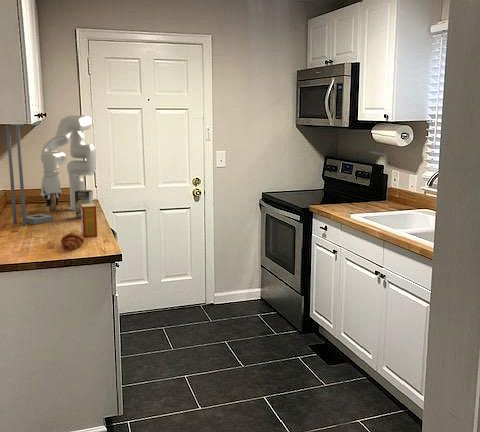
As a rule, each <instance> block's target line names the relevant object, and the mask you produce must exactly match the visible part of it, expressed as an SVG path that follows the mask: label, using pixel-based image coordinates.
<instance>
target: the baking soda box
mask: <svg viewBox="0 0 480 432" xmlns="http://www.w3.org/2000/svg"><path fill="white" fill-rule="evenodd" d="M80 207H81V218H80V221H81V224H80V225H81V235H82V238H83V239H84V238H86V239H87V238H97V237H98V227H97V226H98V223H97V206H96V204H95V203H94V202H93V203H90V204H80Z"/></svg>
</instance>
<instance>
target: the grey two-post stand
mask: <svg viewBox="0 0 480 432" xmlns="http://www.w3.org/2000/svg"><path fill="white" fill-rule="evenodd" d="M36 121H37V122H36V123H34V124H31V125H30V126H36V125H37V126H39V125H41V120H36ZM5 126H6V127H5V129H6V139H7V153H8V155H7V157H8V165H9V168H8V169H9V179H10V181H9V183H10V195H11V196H10V197H11V208H12V220H13V224H14V223H17V224H18V220H17V219H18V217H17V206H16V205H17V204H16V193H15V190H16V189H15V179H14V178H15V177H14V166H13V165H14V164H13V151H12V150H13V149H12V139H11V138H12V137H11V126H15V134H16V145H17V146H16V147H17V159H18V162H17V164H18V176H19V177H18V178H19V188H20V189H19V191H20V205H21V218H22V219H21V220H22V226H23V227H26V226H27V223H26V216H27V214H26V201H25V199H26V198H25V184H24V172H23V170H24V169H23V157H22V145H21V144H22V143H21V131H20V126H25V125H24V124H10V125H5Z"/></svg>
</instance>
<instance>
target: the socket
mask: <svg viewBox="0 0 480 432" xmlns="http://www.w3.org/2000/svg"><path fill="white" fill-rule="evenodd" d="M51 222H54V216H53V215H49V214H46V213H45V214H44V213H37V214H32V215H26V224H30V225H39V224H45V223H46V224H47V223H51Z"/></svg>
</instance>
